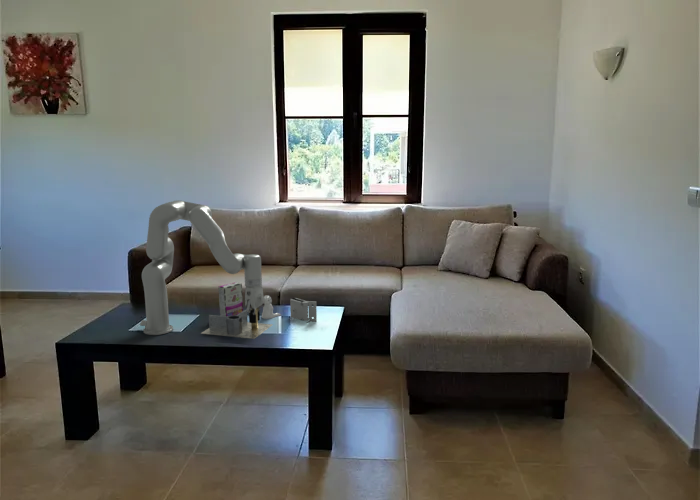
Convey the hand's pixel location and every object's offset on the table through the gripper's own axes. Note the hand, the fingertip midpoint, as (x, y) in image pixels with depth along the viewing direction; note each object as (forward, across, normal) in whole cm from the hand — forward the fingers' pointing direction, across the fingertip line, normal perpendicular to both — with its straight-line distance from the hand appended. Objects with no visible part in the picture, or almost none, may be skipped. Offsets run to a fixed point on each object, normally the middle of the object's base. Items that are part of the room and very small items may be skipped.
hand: (254, 321), depth 245 cm
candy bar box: (+5, +16, +20) cm, 26 cm away
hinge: (+5, +20, -16) cm, 26 cm away
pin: (+3, 0, 0) cm, 3 cm away
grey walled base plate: (+4, -3, +7) cm, 9 cm away
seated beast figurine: (+5, +18, +1) cm, 19 cm away
